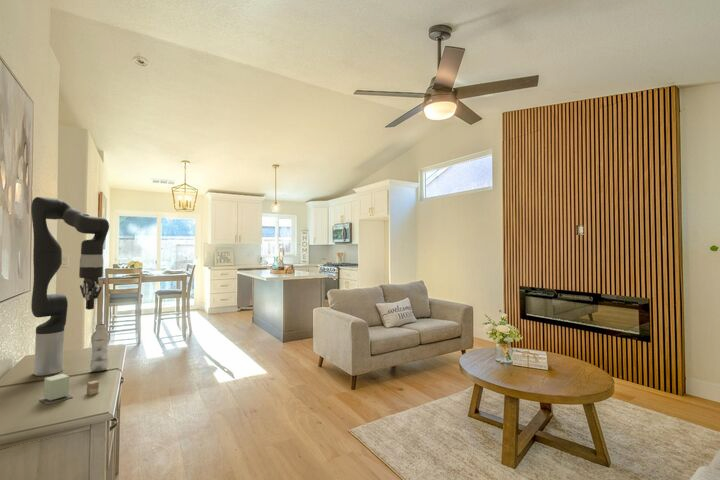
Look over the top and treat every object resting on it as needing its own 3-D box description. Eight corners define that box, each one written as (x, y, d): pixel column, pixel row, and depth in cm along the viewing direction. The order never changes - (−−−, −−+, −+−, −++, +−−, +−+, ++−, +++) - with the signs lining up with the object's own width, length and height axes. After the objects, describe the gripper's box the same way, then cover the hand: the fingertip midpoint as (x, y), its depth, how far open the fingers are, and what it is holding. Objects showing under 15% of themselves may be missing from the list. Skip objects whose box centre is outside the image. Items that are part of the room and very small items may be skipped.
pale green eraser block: (43, 397, 122) (44, 378, 122) (62, 392, 126) (62, 373, 127) (50, 400, 119) (50, 380, 120) (68, 395, 124) (69, 376, 124)
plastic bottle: (98, 374, 148) (100, 326, 149) (85, 372, 149) (87, 325, 150) (112, 369, 154) (113, 323, 155) (99, 367, 156) (101, 322, 156)
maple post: (86, 393, 128) (87, 382, 128) (94, 391, 130) (95, 380, 130) (90, 395, 126) (90, 384, 126) (98, 392, 129) (98, 381, 129)
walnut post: (39, 400, 121) (40, 380, 122) (63, 393, 128) (64, 374, 128) (47, 405, 118) (48, 384, 118) (72, 397, 124) (73, 377, 124)
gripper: (72, 265, 140) (70, 309, 139) (88, 266, 134) (86, 312, 133) (94, 265, 147) (92, 306, 146) (110, 266, 140) (108, 309, 139)
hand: (89, 309), depth 139 cm, fingers closed
